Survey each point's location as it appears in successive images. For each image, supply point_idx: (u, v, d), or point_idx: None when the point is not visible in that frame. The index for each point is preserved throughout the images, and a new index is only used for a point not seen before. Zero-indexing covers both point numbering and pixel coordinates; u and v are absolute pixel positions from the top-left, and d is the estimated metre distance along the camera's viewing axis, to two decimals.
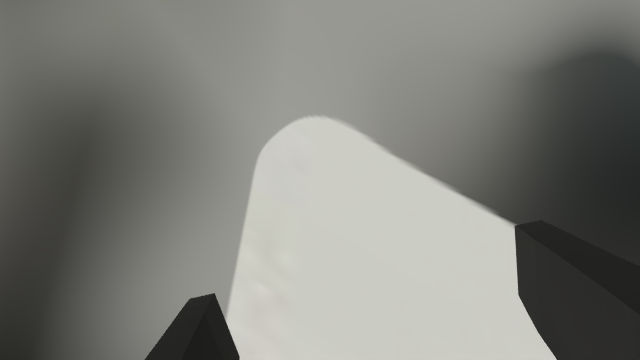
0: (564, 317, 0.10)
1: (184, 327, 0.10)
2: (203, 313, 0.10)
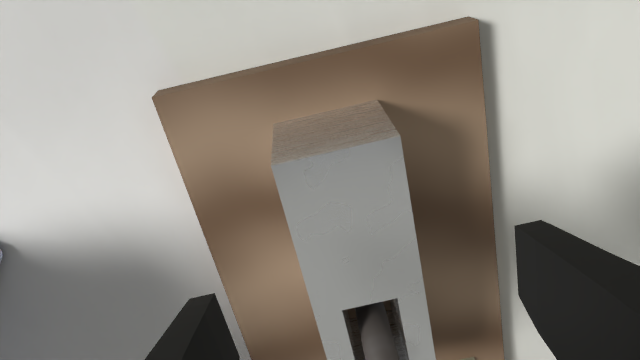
0: (564, 317, 0.10)
1: (184, 327, 0.10)
2: (203, 313, 0.10)
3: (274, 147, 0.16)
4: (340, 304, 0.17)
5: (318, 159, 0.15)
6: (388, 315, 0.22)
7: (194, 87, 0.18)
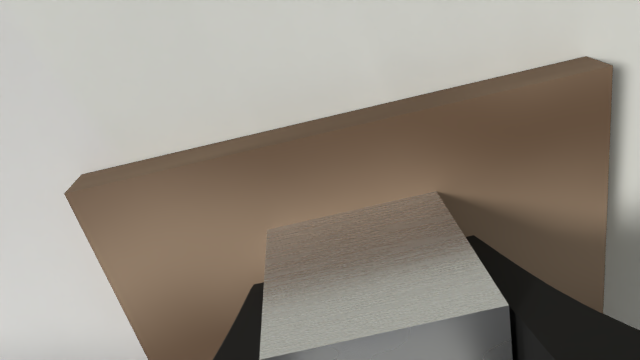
0: None
1: (257, 311, 0.10)
2: None
3: (267, 298, 0.09)
4: None
5: (349, 346, 0.08)
6: None
7: (135, 176, 0.11)
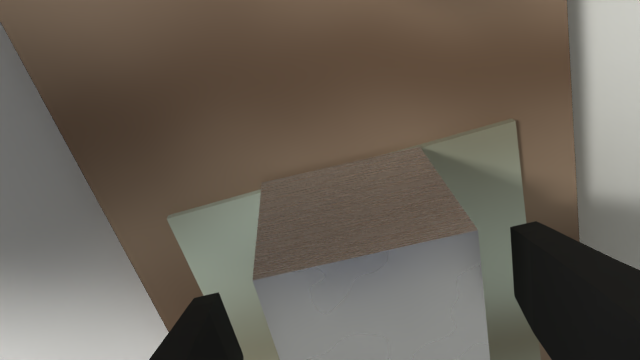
0: (559, 318, 0.10)
1: (189, 326, 0.10)
2: (208, 312, 0.10)
3: (260, 235, 0.10)
4: None
5: (333, 268, 0.09)
6: None
7: None
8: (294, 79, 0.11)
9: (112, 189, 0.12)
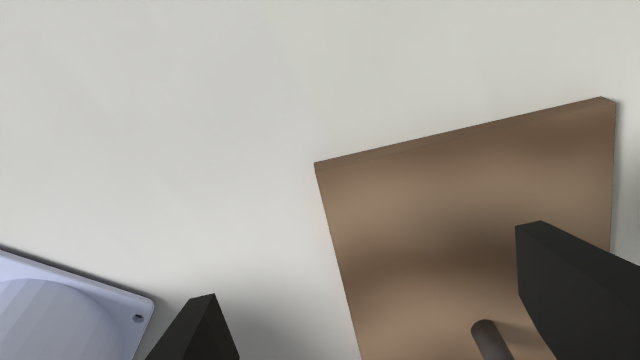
0: (564, 317, 0.10)
1: (184, 327, 0.10)
2: (203, 313, 0.10)
3: None
4: None
5: None
6: None
7: (354, 163, 0.19)
8: None
9: None
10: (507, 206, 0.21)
